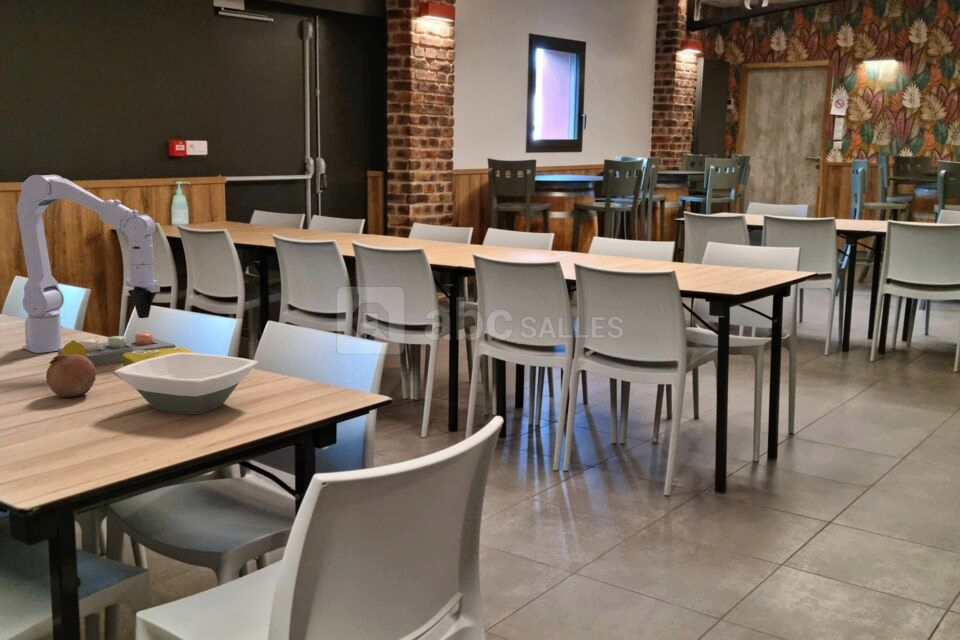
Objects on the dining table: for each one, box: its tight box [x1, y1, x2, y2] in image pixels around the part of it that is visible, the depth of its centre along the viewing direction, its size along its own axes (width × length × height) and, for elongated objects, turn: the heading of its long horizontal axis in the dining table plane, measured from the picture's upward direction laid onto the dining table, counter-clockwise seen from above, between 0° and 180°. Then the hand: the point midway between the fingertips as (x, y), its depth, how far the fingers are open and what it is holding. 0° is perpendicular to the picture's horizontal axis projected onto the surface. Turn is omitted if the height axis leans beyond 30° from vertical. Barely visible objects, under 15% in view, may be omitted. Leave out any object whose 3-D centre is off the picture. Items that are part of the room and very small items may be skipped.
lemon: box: [61, 340, 87, 357], centre depth 215 cm, size 6×6×8 cm
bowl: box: [114, 352, 259, 415], centre depth 191 cm, size 22×23×8 cm
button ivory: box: [79, 338, 99, 353], centre depth 231 cm, size 4×4×3 cm
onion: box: [45, 354, 97, 399], centre depth 197 cm, size 10×9×10 cm
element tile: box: [122, 346, 195, 367], centre depth 222 cm, size 15×15×5 cm
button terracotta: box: [134, 332, 154, 346], centre depth 241 cm, size 4×4×3 cm
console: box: [57, 337, 176, 367], centre depth 236 cm, size 13×24×2 cm, turn 135°
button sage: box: [107, 335, 127, 350], centre depth 236 cm, size 4×4×3 cm
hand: (143, 317), depth 240 cm, fingers closed
